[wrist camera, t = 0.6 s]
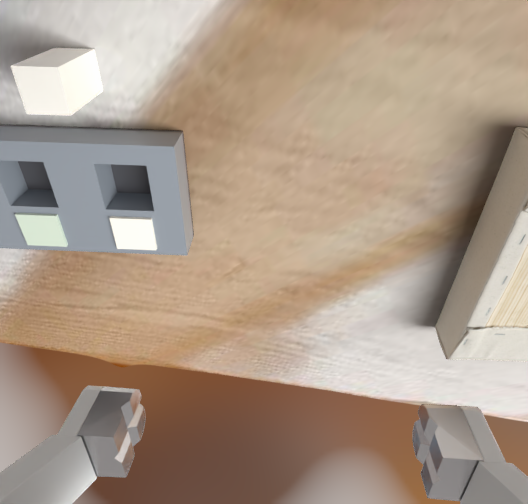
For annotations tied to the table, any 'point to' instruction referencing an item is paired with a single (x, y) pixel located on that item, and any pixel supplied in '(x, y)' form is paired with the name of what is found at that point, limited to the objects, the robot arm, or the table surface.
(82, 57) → the plug
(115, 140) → the socket block
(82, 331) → the table surface
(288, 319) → the table surface
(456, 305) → the box
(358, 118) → the table surface
